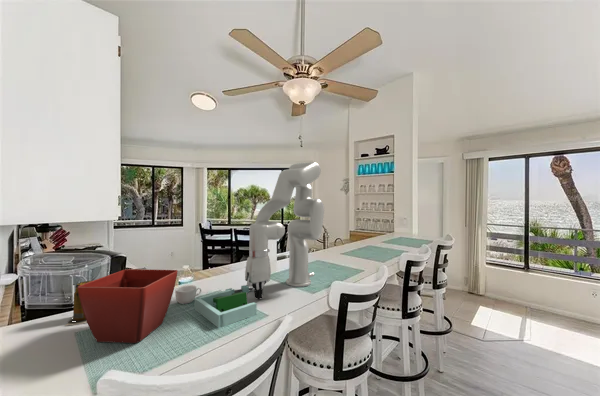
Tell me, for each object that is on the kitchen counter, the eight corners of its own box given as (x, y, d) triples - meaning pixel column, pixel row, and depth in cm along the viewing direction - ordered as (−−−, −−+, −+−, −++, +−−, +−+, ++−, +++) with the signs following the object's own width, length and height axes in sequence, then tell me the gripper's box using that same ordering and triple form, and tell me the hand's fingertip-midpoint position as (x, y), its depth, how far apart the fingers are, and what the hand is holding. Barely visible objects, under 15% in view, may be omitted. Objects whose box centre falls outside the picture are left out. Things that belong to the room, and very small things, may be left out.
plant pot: (123, 317, 89) (124, 268, 89) (178, 318, 88) (179, 269, 89) (73, 348, 70) (75, 286, 70) (142, 350, 69) (143, 288, 70)
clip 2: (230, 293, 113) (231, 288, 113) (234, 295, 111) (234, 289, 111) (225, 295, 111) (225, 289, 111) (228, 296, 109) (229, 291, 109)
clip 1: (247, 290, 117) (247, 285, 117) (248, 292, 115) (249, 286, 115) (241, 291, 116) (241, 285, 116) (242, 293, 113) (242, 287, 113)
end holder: (229, 299, 106) (229, 289, 106) (256, 314, 92) (256, 303, 92) (194, 309, 96) (194, 298, 96) (218, 328, 82) (218, 315, 82)
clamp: (237, 317, 100) (243, 292, 104) (243, 319, 95) (250, 293, 99) (207, 311, 94) (215, 286, 98) (213, 313, 89) (221, 286, 93)
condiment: (100, 312, 93) (100, 278, 93) (93, 322, 85) (94, 285, 85) (74, 316, 90) (75, 281, 90) (64, 326, 82) (65, 288, 82)
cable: (250, 288, 119) (250, 286, 119) (256, 291, 115) (256, 289, 115) (196, 302, 102) (196, 300, 102) (202, 306, 98) (202, 304, 98)
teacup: (178, 307, 98) (178, 293, 98) (172, 301, 103) (172, 287, 103) (204, 300, 104) (204, 287, 104) (197, 295, 110) (197, 282, 110)
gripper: (267, 249, 114) (267, 291, 114) (237, 254, 103) (237, 300, 103) (278, 252, 108) (278, 296, 108) (248, 257, 98) (247, 306, 98)
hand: (258, 298), depth 106 cm, fingers closed
